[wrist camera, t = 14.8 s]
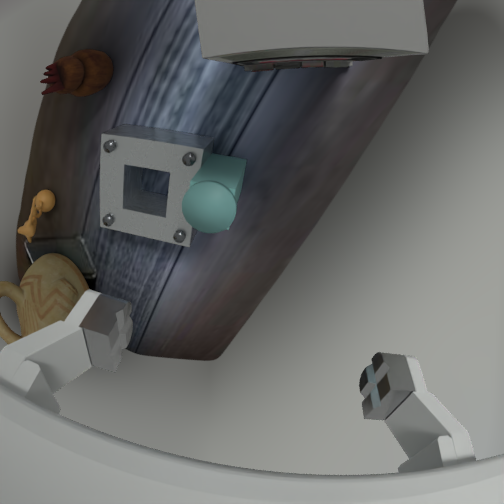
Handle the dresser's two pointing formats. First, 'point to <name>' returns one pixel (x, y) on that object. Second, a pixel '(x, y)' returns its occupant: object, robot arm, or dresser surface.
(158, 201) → the housing
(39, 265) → the ceramic vessel
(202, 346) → the dresser surface
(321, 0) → the cassette tape recorder
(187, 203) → the cover plug
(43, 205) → the figurine
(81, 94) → the wooden figurine
